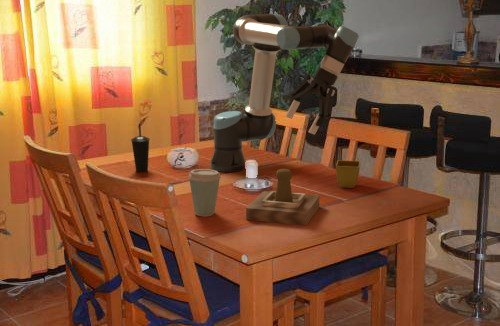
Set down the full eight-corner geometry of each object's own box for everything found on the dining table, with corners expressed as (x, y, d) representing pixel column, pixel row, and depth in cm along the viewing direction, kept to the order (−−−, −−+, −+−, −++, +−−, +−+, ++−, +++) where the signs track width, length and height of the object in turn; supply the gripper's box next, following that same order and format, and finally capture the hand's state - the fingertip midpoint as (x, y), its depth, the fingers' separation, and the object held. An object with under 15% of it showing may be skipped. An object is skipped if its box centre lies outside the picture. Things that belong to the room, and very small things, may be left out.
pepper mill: (283, 197, 230) (283, 166, 227) (296, 201, 225) (296, 169, 223) (271, 201, 226) (271, 169, 223) (284, 205, 221) (284, 173, 219)
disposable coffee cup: (201, 207, 233) (200, 165, 230) (227, 211, 228) (226, 168, 224) (183, 215, 225) (181, 172, 221) (210, 220, 219) (209, 176, 216)
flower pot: (358, 190, 252) (359, 166, 250) (335, 188, 254) (335, 165, 251) (359, 183, 260) (360, 161, 258) (336, 182, 262) (337, 160, 260)
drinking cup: (141, 167, 287) (139, 121, 282) (154, 170, 282) (152, 123, 277) (128, 171, 281) (126, 124, 276) (142, 174, 276) (139, 126, 271)
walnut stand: (246, 219, 220) (246, 203, 219) (263, 201, 238) (263, 187, 237) (306, 225, 214) (306, 208, 213) (319, 206, 233) (319, 191, 231)
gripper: (359, 87, 224) (328, 143, 228) (314, 61, 242) (286, 113, 246) (345, 80, 219) (314, 137, 223) (300, 54, 237) (272, 108, 241)
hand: (299, 125), depth 235 cm, fingers open, 13 cm apart
